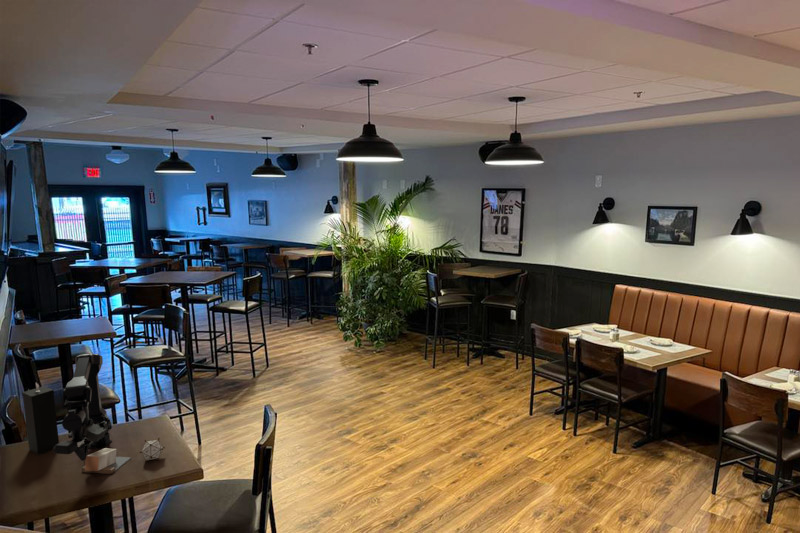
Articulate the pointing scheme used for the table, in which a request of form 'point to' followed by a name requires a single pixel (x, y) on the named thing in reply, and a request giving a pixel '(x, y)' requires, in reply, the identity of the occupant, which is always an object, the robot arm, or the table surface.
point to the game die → (152, 449)
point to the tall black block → (40, 419)
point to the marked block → (100, 459)
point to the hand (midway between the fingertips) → (83, 460)
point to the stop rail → (105, 470)
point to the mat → (119, 462)
